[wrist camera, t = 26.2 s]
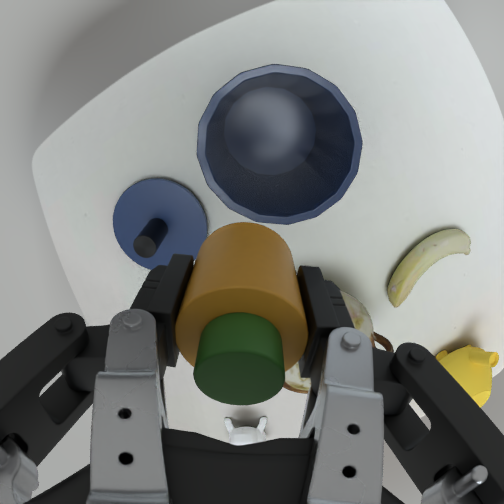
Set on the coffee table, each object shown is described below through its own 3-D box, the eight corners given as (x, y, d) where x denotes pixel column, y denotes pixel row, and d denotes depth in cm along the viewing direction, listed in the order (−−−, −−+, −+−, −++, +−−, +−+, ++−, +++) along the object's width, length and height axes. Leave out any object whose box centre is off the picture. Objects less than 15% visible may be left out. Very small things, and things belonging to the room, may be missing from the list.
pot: (216, 174, 33) (194, 217, 21) (223, 78, 28) (203, 59, 16) (312, 184, 33) (346, 231, 21) (325, 90, 28) (371, 81, 16)
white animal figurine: (268, 423, 60) (265, 411, 49) (269, 457, 54) (267, 455, 43) (230, 424, 60) (218, 412, 49) (230, 458, 55) (218, 455, 43)
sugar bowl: (384, 263, 38) (434, 338, 25) (362, 345, 45) (389, 421, 31) (235, 264, 38) (226, 351, 25) (238, 349, 45) (233, 434, 31)
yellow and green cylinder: (196, 300, 14) (170, 411, 8) (198, 217, 12) (155, 315, 6) (284, 308, 14) (298, 421, 8) (300, 226, 12) (334, 330, 7)
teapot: (438, 323, 43) (474, 381, 31) (496, 312, 43) (532, 358, 31) (405, 394, 52) (425, 446, 40) (460, 380, 52) (483, 425, 40)
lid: (121, 262, 38) (102, 288, 32) (113, 175, 33) (89, 190, 27) (207, 271, 38) (199, 299, 33) (210, 179, 33) (201, 194, 28)
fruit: (372, 265, 38) (380, 278, 35) (459, 210, 34) (472, 219, 31) (388, 300, 41) (396, 314, 38) (468, 249, 37) (480, 259, 34)
